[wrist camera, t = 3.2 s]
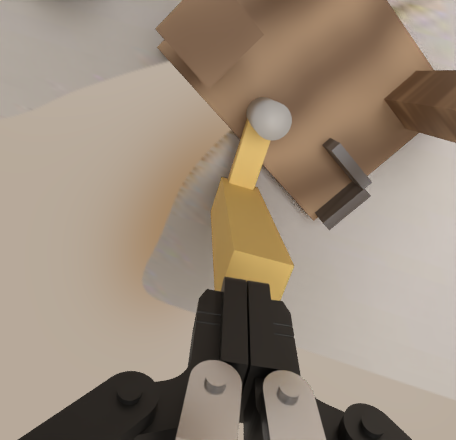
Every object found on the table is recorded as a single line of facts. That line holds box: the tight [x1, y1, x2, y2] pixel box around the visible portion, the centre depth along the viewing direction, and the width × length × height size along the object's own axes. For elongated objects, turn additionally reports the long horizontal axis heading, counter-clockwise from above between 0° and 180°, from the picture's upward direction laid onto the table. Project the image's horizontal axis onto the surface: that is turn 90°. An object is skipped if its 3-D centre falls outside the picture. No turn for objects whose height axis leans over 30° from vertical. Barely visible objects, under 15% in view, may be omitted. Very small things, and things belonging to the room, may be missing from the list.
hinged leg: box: [211, 97, 294, 301], centre depth 25 cm, size 10×3×14 cm, turn 163°
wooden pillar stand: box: [156, 0, 456, 230], centre depth 24 cm, size 18×14×16 cm
